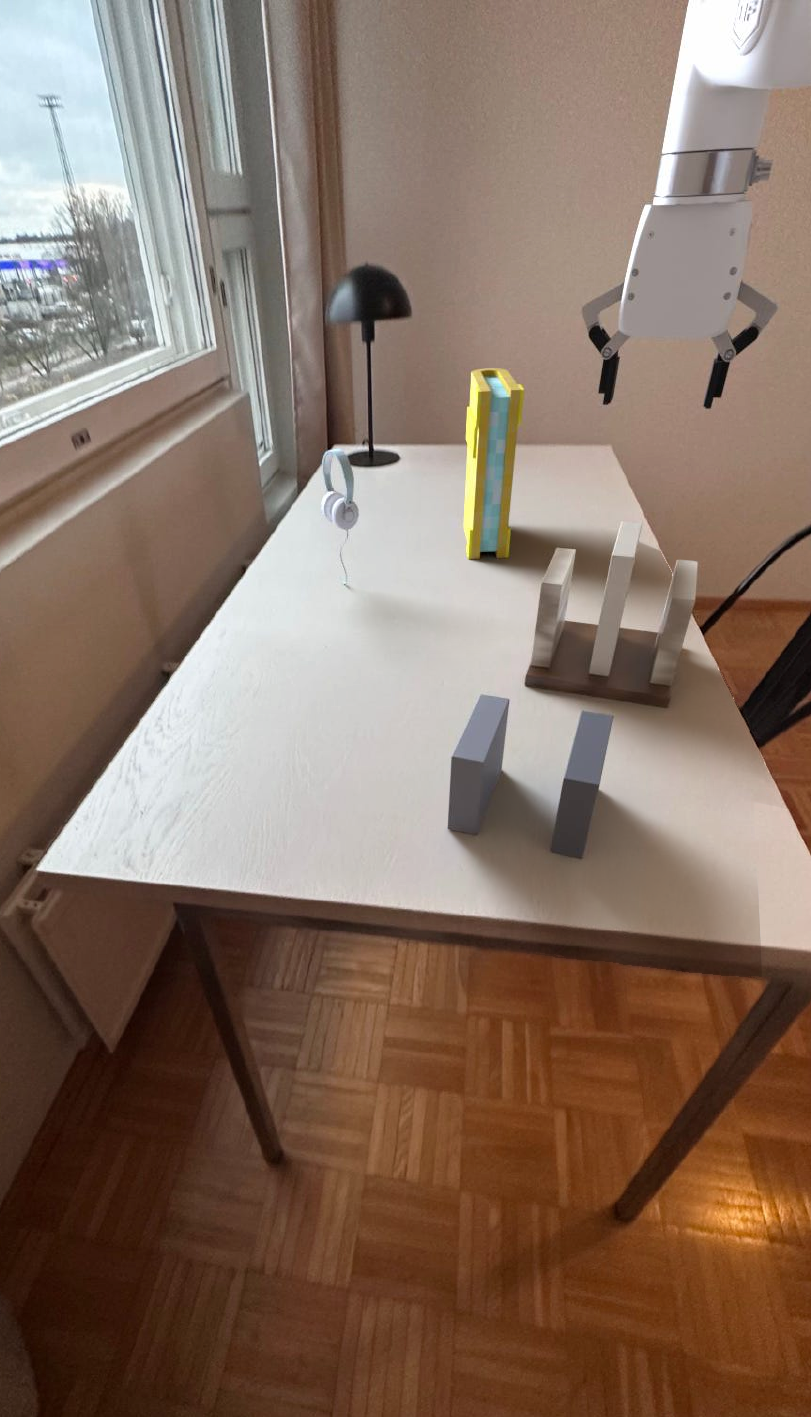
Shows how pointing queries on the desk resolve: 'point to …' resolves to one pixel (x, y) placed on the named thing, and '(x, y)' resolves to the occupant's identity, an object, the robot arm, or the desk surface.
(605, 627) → the thin book
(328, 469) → the headphones
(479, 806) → the grey books
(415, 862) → the desk surface
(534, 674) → the letter rack
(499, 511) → the book
